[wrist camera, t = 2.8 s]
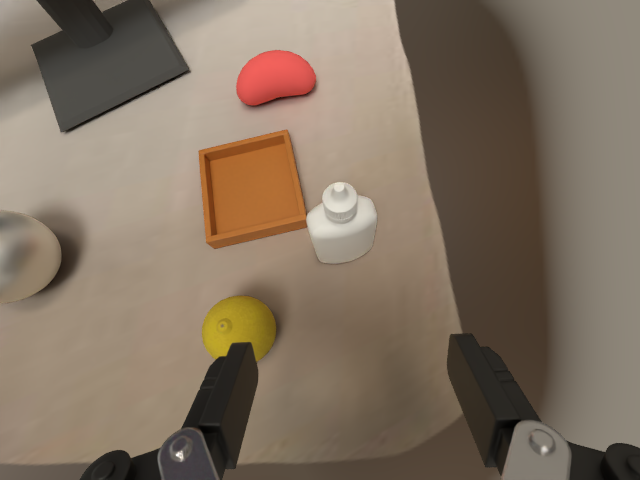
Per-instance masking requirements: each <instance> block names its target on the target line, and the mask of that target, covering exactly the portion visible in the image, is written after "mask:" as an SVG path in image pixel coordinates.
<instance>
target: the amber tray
mask: <svg viewBox="0 0 640 480" xmlns="http://www.w3.org/2000/svg"><path fill="white" fill-rule="evenodd" d="M199 163H200V174H201V186H202V198H203V210H204V222H205V233H206V243H207V244H209V245H210V246H211V247H213V248H214V249H216V248H220V247H224V246H229V245H233V244H237V243H242V242H246V241H250V240H254V239H259V238H263V237H267V236H272V235H276V234H280V233H285V232H289V231H293V230H297V229H302V228H306V227H307V223H306V216H307V213H306V209H305V204H304V199H303V195H302V190H301V185H300V181H299V176H298V172H297V167H296V162H295V158H294V153H293V148H292V144H291V140H290V136H289V133H288V130H283V131H279V132H274V133H270V134H266V135H262V136H258V137H253V138H249V139H245V140H241V141H237V142H232V143H228V144H224V145H220V146H216V147H211V148H207V149H203V150H199Z"/></svg>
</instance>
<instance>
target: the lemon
mask: <svg viewBox="0 0 640 480" xmlns="http://www.w3.org/2000/svg"><path fill="white" fill-rule="evenodd" d="M275 336H276V323H275V319H274V317H273V314H272V312H271V311H270V310H269V308H268V307H267V306H266V305H265V304H264V303H262V302H261V301H260V300H258V299H255V298H253V297H250V296H233V297H229V298H226V299H224V300H221V301H220V302H218V303H217V304H216V305H214V306H213V308H212V309H211V310H210V311H209V312H208V314H207V316H206V317H205V319H204V323H203V326H202V338H203V343H204V345H205V347H206V350H207V351H208V352H209V353H210V355H211V356H212V357H213V358H214V359H217V358H218V357H219V356H226V355H227V353H228V350H229V348H230V346H231V344H232V343H237V342H251V343H252V346H253V350H254V354H255V359H256V362H257V361H259V360H260V359H262V358H263V357H264V356H265V355H266V354H267V353H268V352H269V350H270V348H271V347H272V345H273V343H274V340H275Z"/></svg>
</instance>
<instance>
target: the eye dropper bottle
mask: <svg viewBox="0 0 640 480" xmlns="http://www.w3.org/2000/svg"><path fill="white" fill-rule="evenodd" d="M322 200H323V202H322V203H320V204H319V205H317V206H316V207H315V208H313V209H312V210H311V211H310V212H309V213H308V215H307V216H306V223H307V227H308V231H309V234H310V237H311V241H312V243H313V246H314V249H315V252H316V255H317V258H318V259H319V261H320V262H322V263H328V264H339V263H345V262H349V261H352V260H355V259H357V258H359V257H361V256H363V255H364V254H366V253H367V252H368V251H369V250H370V249H371V248H372V246H373V242H374V237H375V231H376V226H377V212H376V209H375V207H374V204H373V202H372V200H371V199H370V198H368V197H366V196H360V195H357V192H356V191H355V189H354V188H353V187H352V186H351V185H349V184H347V183H344V182H336V183H333V184H331V185H330V186H328V187H327V188H326V190H325V191H324V193H323V197H322Z"/></svg>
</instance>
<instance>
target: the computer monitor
mask: <svg viewBox="0 0 640 480" xmlns="http://www.w3.org/2000/svg"><path fill="white" fill-rule="evenodd" d="M37 1H38V3H39V4H40V5H41V6H42V7H43V8H44V9H45V11H46V12H47V13H48V14H49V15H50V16H51V17H52V19H53V20H54V21H55V22H56V23H57V24H58V25H59V27H60V28H61V29H62V30H63V31H60V32H58V33H56V34H54V35H52V36H50V37H47V38H45V39H43V40H41V41H39V42H37V43H34V44H32V45H31V46H32V49H33V51H34V54H35V56H36V59H37V62H38V64H39V68H40V71H41V74H42V77H43V80H44V83H45V86H46V89H47V92H48V95H49V98H50V101H51V104H52V107H53V110H54V113H55V116H56V119H57V122H58V125H59V128H60V131H61V132H63V131H66V130H68V129H70V128H72V127H74V126H76V125H78V124H80V123H82V122H84V121H86V120H88V119H91V118H93V117H95V116H97V115H99V114H101V113H103V112H105V111H107V110H109V109H111V108H113V107H115V106H117V105H119V104H121V103H123V102H125V101H127V100H129V99H131V98H133V97H135V96H137V95H139V94H141V93H143V92H145V91H147V90H149V89H151V88H153V87H155V86H157V85H159V84H161V83H163V82H165V81H167V80H170V79H172V78H174V77H176V76H178V75H180V74H182V73H184V72H185V71H187V70H189V68H188V66H187V65H186V63H185V61H184V59H183V58H182V56H181V54H180V53H179V51H178V49H177V47H176V46H175V44H174V42H173V40H172V39H171V37H170V35H169V34H168V32H167V30H166V28H165V27H164V25H163V23H162V21H161V20H160V18H159V16H158V15H157V13H156V11H155V9H154V8H153V6H152V4H151V2H150V1H149V0H128V1H125V2H123V3H121V4H119V5H117V6H115V7H112V8H110V9H108V10H106V11H104V12H102V13H101V11H100V10H99V8H98V7H97V6H96V4H95V3H94V1H93V0H37Z"/></svg>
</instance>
